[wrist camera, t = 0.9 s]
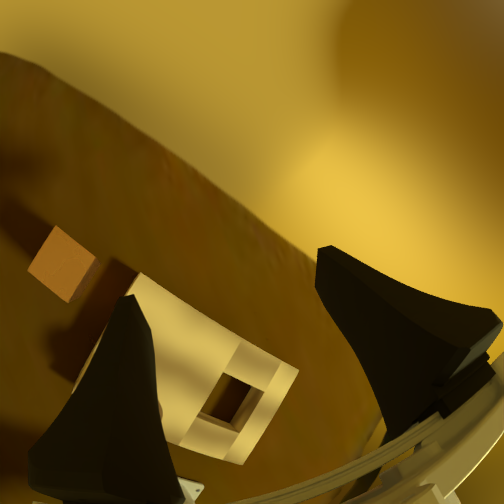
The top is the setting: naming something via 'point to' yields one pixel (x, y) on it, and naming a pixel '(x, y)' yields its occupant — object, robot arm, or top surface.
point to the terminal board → (206, 376)
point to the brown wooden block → (64, 265)
